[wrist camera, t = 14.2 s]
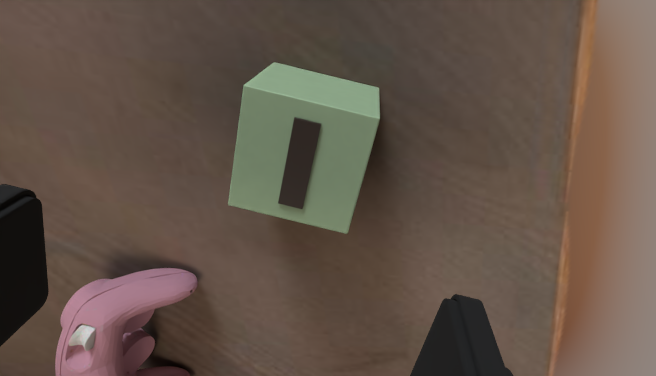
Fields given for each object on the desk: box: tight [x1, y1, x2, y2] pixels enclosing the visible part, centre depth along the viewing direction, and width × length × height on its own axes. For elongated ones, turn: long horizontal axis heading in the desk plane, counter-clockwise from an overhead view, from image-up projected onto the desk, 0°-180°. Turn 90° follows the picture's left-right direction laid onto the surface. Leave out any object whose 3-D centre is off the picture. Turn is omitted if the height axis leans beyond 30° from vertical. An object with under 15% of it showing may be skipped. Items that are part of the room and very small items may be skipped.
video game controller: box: [55, 268, 198, 376], centre depth 25 cm, size 10×5×7 cm, turn 169°
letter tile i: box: [228, 62, 380, 234], centre depth 18 cm, size 5×5×5 cm
